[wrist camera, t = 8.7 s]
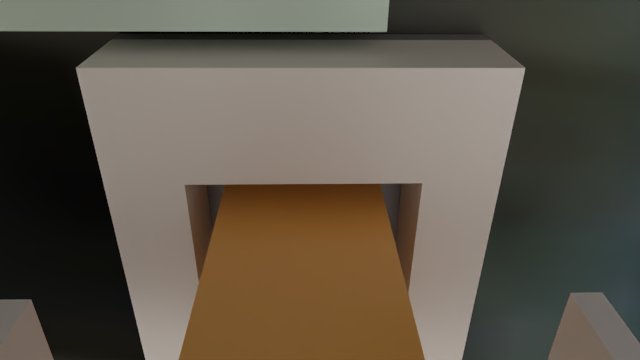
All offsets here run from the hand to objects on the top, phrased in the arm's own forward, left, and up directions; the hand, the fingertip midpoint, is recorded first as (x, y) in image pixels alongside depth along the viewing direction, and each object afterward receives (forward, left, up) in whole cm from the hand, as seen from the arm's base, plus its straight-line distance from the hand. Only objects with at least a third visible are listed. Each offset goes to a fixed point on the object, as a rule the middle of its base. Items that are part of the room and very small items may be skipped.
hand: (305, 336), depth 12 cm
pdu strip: (+5, 0, -5) cm, 7 cm away
